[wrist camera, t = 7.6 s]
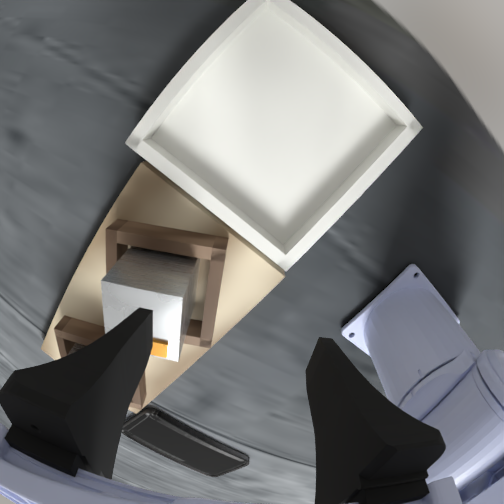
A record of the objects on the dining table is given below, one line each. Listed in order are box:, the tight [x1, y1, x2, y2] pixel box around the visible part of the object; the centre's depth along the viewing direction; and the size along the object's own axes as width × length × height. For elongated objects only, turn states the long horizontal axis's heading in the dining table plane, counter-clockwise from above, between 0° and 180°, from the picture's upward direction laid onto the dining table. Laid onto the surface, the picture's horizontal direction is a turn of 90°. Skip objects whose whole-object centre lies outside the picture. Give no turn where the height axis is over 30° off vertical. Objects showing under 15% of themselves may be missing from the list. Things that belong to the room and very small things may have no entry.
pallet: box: [41, 161, 285, 414], centre depth 22 cm, size 12×22×3 cm, turn 139°
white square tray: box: [125, 0, 423, 271], centre depth 17 cm, size 13×13×2 cm
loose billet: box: [101, 246, 201, 362], centre depth 18 cm, size 4×4×6 cm
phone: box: [122, 408, 249, 477], centre depth 31 cm, size 8×1×15 cm
